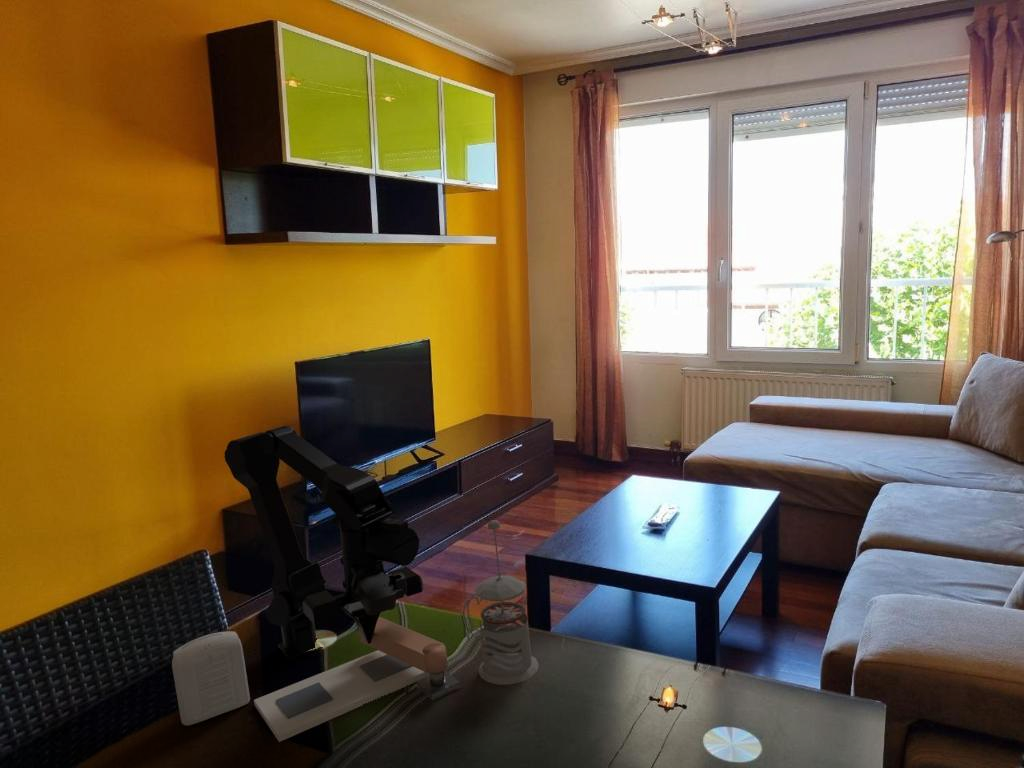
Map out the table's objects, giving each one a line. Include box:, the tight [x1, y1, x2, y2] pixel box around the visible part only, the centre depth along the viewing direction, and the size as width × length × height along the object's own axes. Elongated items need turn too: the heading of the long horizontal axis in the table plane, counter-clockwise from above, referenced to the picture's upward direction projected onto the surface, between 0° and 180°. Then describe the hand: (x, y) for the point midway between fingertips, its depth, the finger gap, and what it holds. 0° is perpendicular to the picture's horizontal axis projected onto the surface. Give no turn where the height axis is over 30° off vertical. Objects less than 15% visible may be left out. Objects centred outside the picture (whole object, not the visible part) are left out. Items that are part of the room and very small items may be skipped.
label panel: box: [253, 649, 429, 743], centre depth 119 cm, size 12×26×1 cm, turn 125°
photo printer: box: [171, 631, 251, 727], centre depth 116 cm, size 10×4×12 cm, turn 123°
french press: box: [462, 519, 540, 686], centre depth 120 cm, size 10×12×25 cm
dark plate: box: [415, 669, 461, 702], centre depth 117 cm, size 5×5×3 cm
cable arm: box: [358, 616, 449, 673], centre depth 122 cm, size 19×4×3 cm, turn 47°
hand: (368, 642), depth 123 cm, fingers closed
